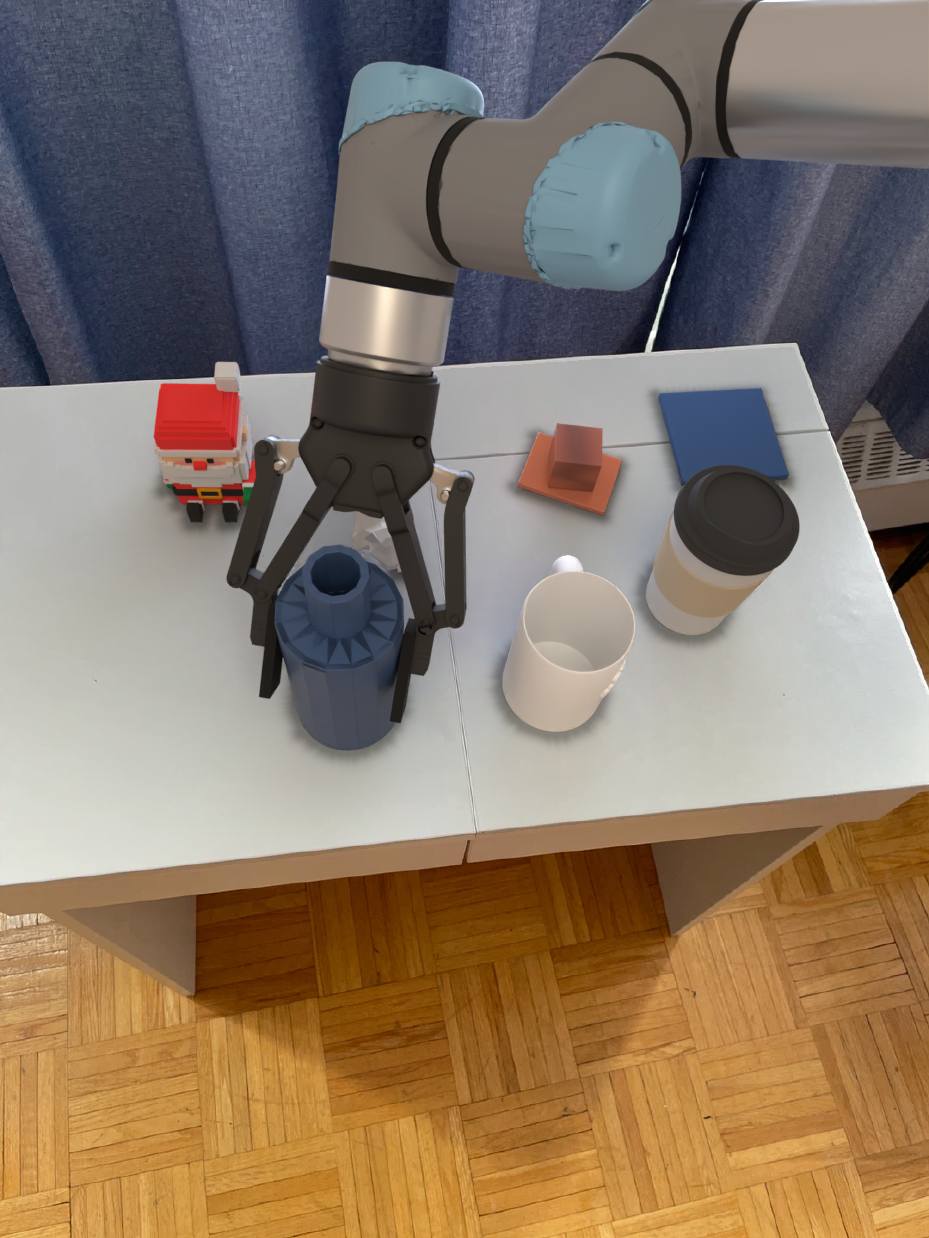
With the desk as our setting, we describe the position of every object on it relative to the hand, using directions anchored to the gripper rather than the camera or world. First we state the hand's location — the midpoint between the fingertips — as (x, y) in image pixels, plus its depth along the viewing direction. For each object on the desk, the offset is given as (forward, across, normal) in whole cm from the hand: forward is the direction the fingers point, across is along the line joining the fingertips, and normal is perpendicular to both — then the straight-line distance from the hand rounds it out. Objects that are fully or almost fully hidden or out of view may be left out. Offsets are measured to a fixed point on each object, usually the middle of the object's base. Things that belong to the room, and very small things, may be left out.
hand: (333, 701), depth 64 cm
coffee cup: (-6, -26, -19) cm, 33 cm away
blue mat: (-19, -28, -31) cm, 46 cm away
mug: (-1, -15, -13) cm, 20 cm away
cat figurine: (-8, +2, -20) cm, 22 cm away
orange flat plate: (-14, -14, -26) cm, 33 cm away
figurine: (-8, +15, -21) cm, 27 cm away
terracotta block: (-14, -14, -26) cm, 33 cm away
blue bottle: (+4, 0, -8) cm, 9 cm away
